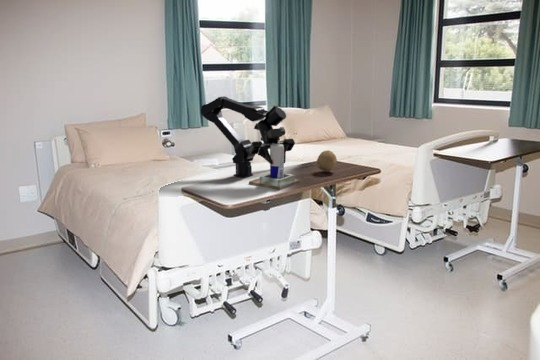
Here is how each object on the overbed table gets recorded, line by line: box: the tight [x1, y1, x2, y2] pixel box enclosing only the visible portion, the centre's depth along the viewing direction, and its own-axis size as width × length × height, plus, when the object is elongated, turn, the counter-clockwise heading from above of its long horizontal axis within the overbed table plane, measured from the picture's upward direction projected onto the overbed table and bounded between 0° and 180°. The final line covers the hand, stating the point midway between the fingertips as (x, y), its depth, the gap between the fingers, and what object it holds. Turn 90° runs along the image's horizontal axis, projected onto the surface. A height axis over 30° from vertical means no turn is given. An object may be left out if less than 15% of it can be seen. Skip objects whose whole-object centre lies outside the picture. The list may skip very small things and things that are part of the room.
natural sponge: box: [315, 149, 338, 173], centre depth 219 cm, size 9×9×10 cm
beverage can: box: [269, 144, 285, 179], centre depth 197 cm, size 6×6×15 cm
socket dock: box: [248, 172, 300, 190], centre depth 202 cm, size 16×14×4 cm
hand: (278, 163), depth 196 cm, fingers closed on beverage can, 5 cm apart
